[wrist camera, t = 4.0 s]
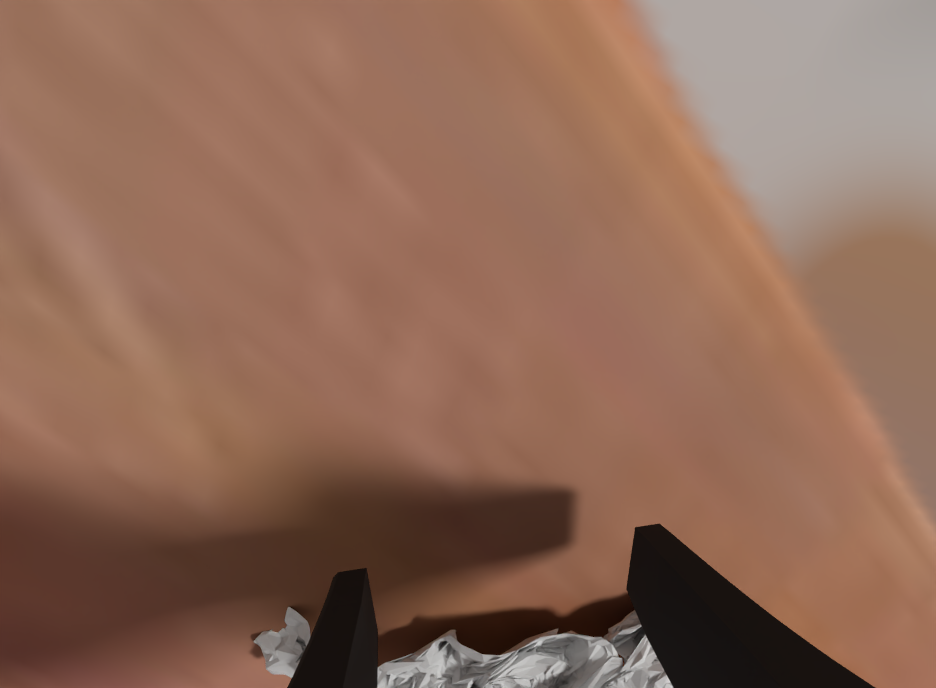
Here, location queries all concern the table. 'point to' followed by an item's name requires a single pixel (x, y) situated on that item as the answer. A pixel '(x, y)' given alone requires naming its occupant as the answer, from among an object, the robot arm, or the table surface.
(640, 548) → the robot arm
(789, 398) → the table surface
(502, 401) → the table surface
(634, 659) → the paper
